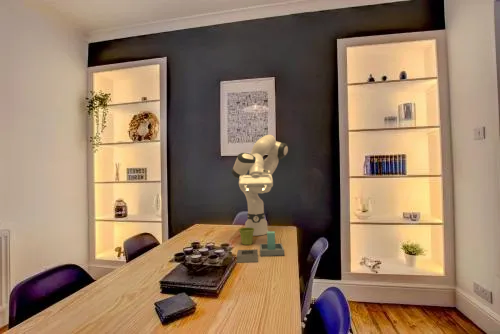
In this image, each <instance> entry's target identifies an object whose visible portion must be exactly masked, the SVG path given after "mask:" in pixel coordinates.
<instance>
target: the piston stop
mask: <svg viewBox="0 0 500 334" xmlns="http://www.w3.org/2000/svg"><path fill="white" fill-rule="evenodd" d="M266 239H267V240H266V241H267V242H266V244H267V248H268V250H275V243H276V231H270V230H269V231H267V234H266Z"/></svg>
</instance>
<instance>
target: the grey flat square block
mask: <svg viewBox="0 0 500 334" xmlns="http://www.w3.org/2000/svg"><path fill="white" fill-rule="evenodd" d="M236 253H237V254H236V264H240V263H241V264H242V263H259V256H258V255H259V253H258V249H254V248H253V249H237V252H236Z"/></svg>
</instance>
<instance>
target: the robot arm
mask: <svg viewBox="0 0 500 334" xmlns="http://www.w3.org/2000/svg"><path fill="white" fill-rule="evenodd" d="M288 152H289V147H288V144H287V143H285V142H280V141H277V140H276V138H275V136H273V134H266V135H264V136H262V137H260V138H258V139H257V140H256V142H255V143H254V145H253V146H252V148H251V152H250V153H247V152H240V153H238V155H237V157H236V160H235V162H234V165H233V167H232V168H231V174H232V175H233V177H234V178H236V179H237V180H238V186H239V189H240V191H241V192H242V193H243V194H244V196H245V198H246V202H247V203H246V204H247V216H246V217H247V220H246V221H245V223H244V225H245V227H244V228H254V232H253V237H255V236H258V237H259V236H264V235H267V231H270V230H269V229H268V221H267V220H266V219H265V217H266V216H265V215H266V214H265V208H264V207H265V206H264V205H265V203H264V201H263V199H261V197H260V196H259V194H265V193H270V191H271V190H272V188H273V186H274V180H273V174H274V172H275V171H276V169H277V167H278V165H279V160H282V159H283V158H285V157H286V156H287V154H288ZM266 155H267V157H266V158H265V159H264V156H266ZM248 173H249V174H248Z"/></svg>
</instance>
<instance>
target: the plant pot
mask: <svg viewBox="0 0 500 334" xmlns="http://www.w3.org/2000/svg"><path fill="white" fill-rule="evenodd" d="M238 232H239V234H240V240H241V244H242V245H244V246H247V245H249V246H250V245H252V244H253V237H254V236H253V232H254V228H245V227H242V228H241V227H240V228H239V229H238Z"/></svg>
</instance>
